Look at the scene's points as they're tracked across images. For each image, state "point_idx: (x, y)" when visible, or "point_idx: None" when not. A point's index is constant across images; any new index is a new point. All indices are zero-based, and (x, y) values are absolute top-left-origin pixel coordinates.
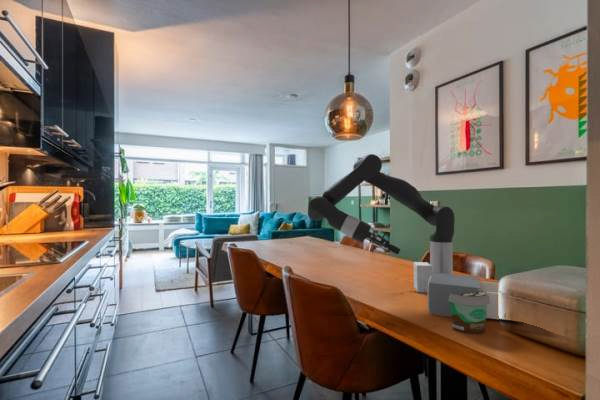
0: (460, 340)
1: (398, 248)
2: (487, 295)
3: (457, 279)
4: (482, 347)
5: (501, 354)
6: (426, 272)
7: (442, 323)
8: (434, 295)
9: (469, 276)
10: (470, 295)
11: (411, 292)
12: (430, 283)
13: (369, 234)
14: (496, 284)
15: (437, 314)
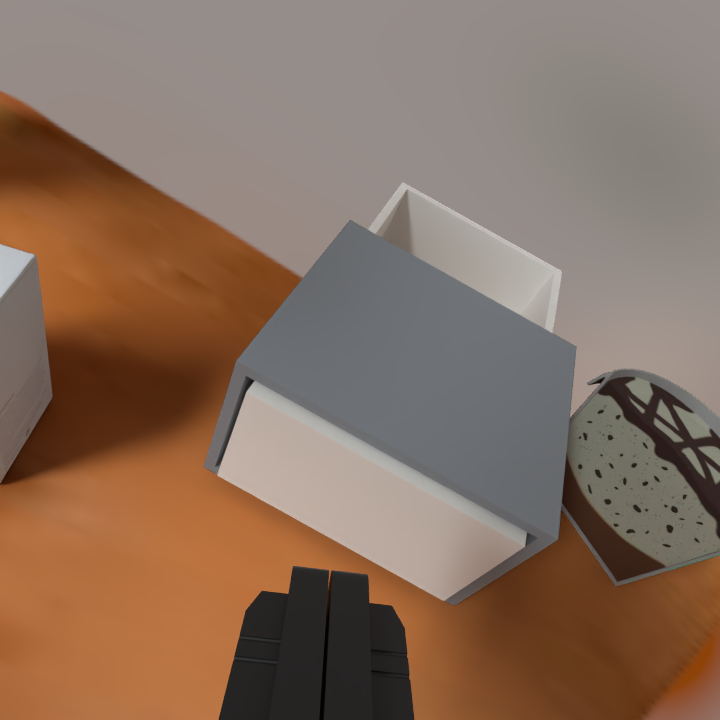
0: (699, 608)
1: (366, 599)
2: (687, 396)
3: (430, 335)
4: (715, 561)
5: None
6: (22, 330)
7: (563, 597)
8: None
9: (349, 245)
10: (691, 448)
11: None
12: (556, 531)
13: None
14: (388, 217)
15: None
